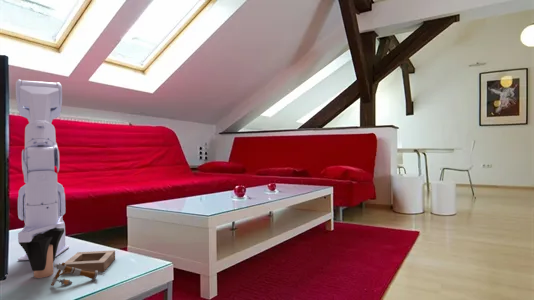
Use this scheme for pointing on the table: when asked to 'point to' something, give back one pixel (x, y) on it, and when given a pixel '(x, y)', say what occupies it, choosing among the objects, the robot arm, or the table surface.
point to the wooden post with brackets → (74, 270)
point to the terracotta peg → (48, 267)
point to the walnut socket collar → (91, 261)
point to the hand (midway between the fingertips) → (43, 266)
